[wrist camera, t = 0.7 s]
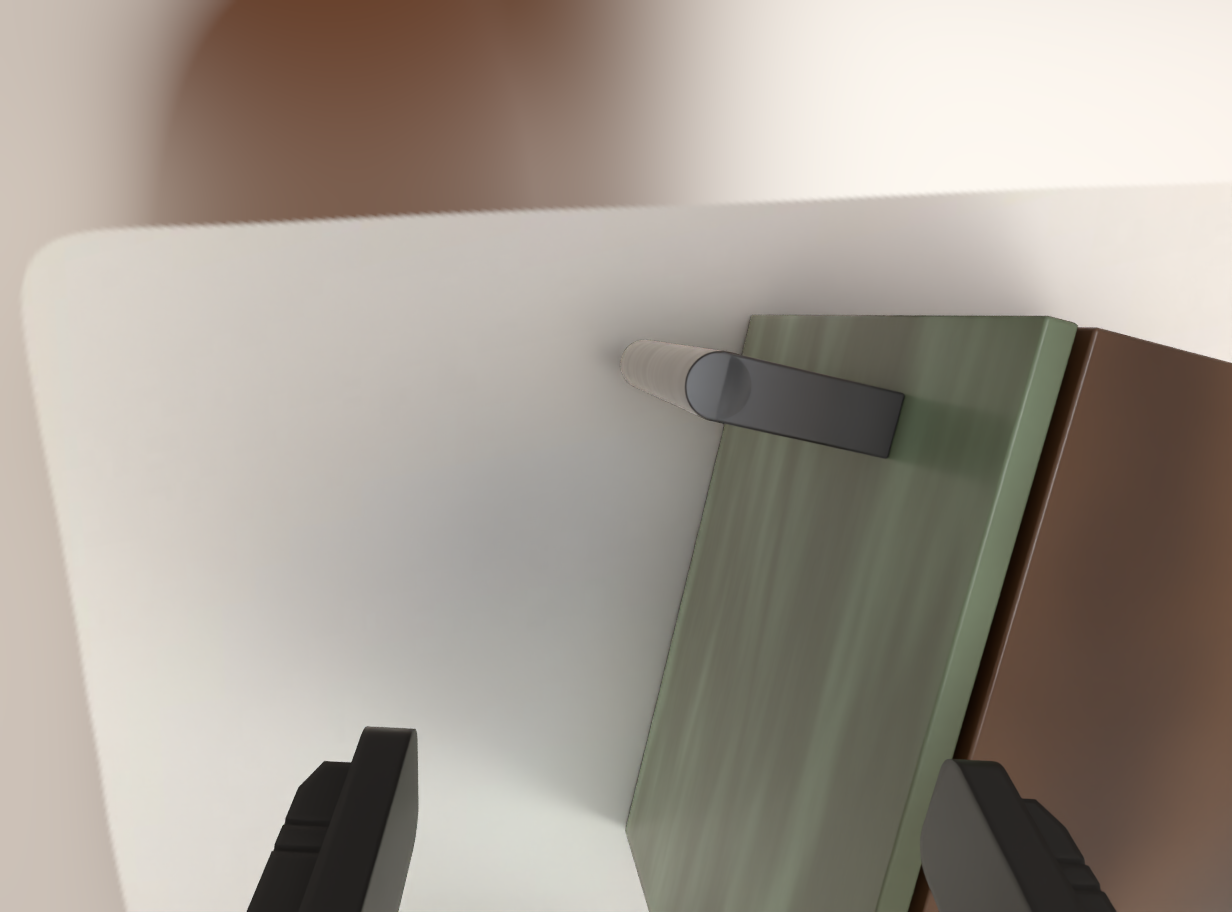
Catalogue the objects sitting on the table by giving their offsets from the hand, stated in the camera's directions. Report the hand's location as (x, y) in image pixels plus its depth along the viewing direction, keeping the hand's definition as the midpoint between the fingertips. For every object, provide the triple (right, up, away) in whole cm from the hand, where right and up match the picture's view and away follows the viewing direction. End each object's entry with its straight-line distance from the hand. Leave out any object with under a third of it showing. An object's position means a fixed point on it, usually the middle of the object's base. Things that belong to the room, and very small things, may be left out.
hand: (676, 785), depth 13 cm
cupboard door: (0, 0, +25) cm, 25 cm away
